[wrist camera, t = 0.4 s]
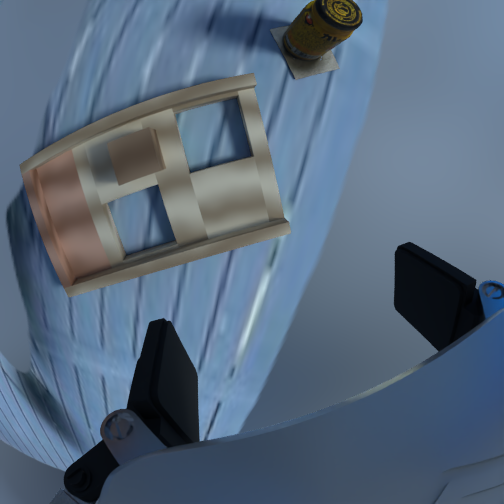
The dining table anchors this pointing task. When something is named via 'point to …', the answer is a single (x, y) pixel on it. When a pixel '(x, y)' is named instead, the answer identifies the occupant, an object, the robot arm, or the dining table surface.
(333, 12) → the condiment
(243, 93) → the trap track
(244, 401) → the dining table surface
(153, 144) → the walnut block
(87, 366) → the dining table surface
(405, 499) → the robot arm
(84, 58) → the dining table surface
